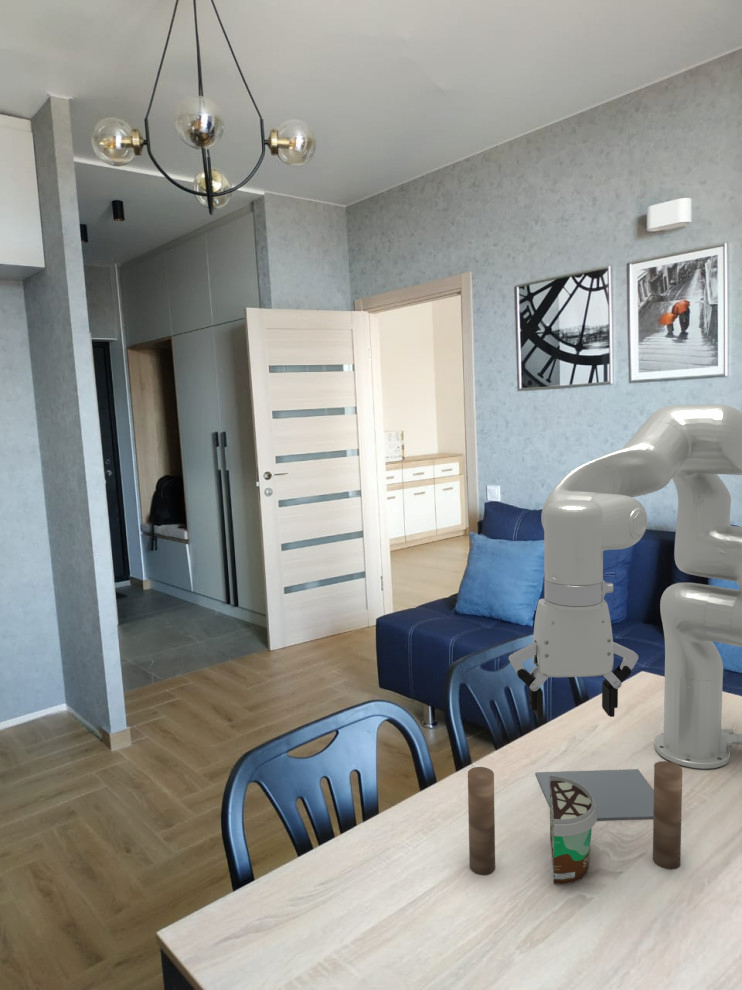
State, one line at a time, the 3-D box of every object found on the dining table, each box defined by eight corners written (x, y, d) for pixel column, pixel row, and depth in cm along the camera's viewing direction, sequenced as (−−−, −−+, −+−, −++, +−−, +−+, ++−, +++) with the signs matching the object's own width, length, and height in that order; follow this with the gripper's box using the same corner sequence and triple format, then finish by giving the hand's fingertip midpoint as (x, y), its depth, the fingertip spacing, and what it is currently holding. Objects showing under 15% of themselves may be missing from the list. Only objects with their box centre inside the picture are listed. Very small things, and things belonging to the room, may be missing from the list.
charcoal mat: (638, 771, 122) (638, 769, 122) (671, 818, 108) (671, 815, 108) (535, 774, 123) (535, 772, 122) (556, 821, 109) (555, 819, 109)
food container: (602, 896, 92) (602, 825, 91) (554, 891, 93) (554, 821, 92) (592, 839, 104) (592, 776, 103) (549, 835, 105) (549, 773, 104)
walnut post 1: (492, 857, 101) (491, 766, 99) (497, 874, 97) (495, 780, 95) (467, 858, 101) (466, 767, 99) (471, 875, 97) (469, 780, 95)
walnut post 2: (673, 852, 100) (675, 760, 99) (684, 868, 97) (687, 774, 95) (648, 853, 100) (650, 761, 99) (658, 869, 97) (660, 774, 95)
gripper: (627, 583, 97) (626, 700, 99) (503, 587, 98) (504, 703, 100) (648, 598, 90) (646, 724, 92) (514, 602, 90) (515, 728, 92)
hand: (572, 713), depth 96 cm, fingers open, 9 cm apart
